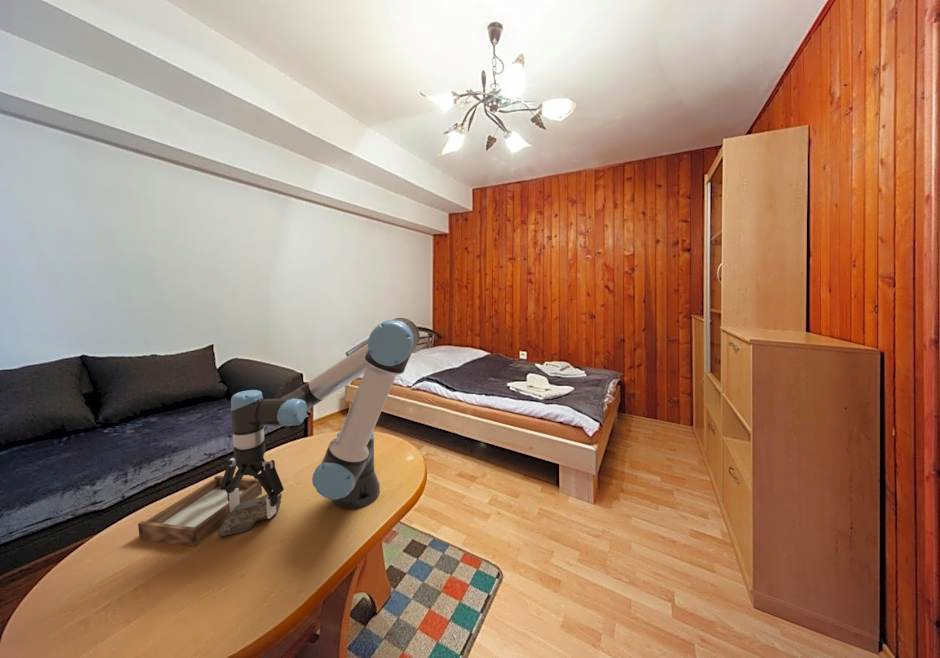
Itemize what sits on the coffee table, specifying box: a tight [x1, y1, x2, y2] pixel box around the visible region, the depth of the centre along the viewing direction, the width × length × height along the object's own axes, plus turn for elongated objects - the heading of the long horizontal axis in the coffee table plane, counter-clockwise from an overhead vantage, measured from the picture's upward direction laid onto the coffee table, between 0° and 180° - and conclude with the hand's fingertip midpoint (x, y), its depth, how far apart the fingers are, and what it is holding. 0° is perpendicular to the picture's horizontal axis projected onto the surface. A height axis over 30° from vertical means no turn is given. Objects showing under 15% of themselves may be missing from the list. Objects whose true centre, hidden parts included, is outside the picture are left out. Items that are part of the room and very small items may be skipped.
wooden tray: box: [137, 475, 263, 548], centre depth 99 cm, size 17×24×5 cm
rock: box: [217, 492, 283, 537], centre depth 96 cm, size 17×7×10 cm
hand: (253, 513), depth 96 cm, fingers open, 11 cm apart
